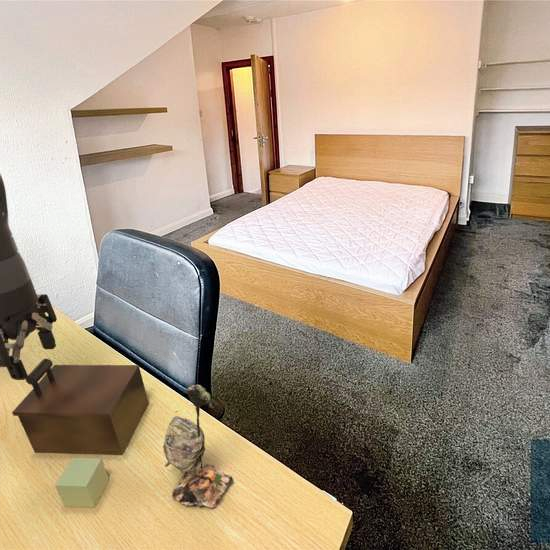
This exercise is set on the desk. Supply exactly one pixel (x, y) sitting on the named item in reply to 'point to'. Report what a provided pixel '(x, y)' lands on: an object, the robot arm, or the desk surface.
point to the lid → (75, 390)
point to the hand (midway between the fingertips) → (36, 362)
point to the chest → (89, 427)
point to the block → (82, 482)
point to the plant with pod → (193, 457)
